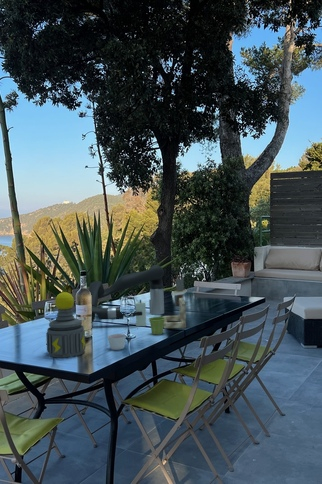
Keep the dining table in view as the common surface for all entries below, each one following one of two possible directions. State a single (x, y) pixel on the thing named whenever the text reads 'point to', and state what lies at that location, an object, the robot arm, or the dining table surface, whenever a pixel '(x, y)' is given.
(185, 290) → the architectural model
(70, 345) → the decorative lamp
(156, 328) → the plant pot
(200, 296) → the dining table surface
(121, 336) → the candle
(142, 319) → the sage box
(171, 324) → the beige l-shaped stand
